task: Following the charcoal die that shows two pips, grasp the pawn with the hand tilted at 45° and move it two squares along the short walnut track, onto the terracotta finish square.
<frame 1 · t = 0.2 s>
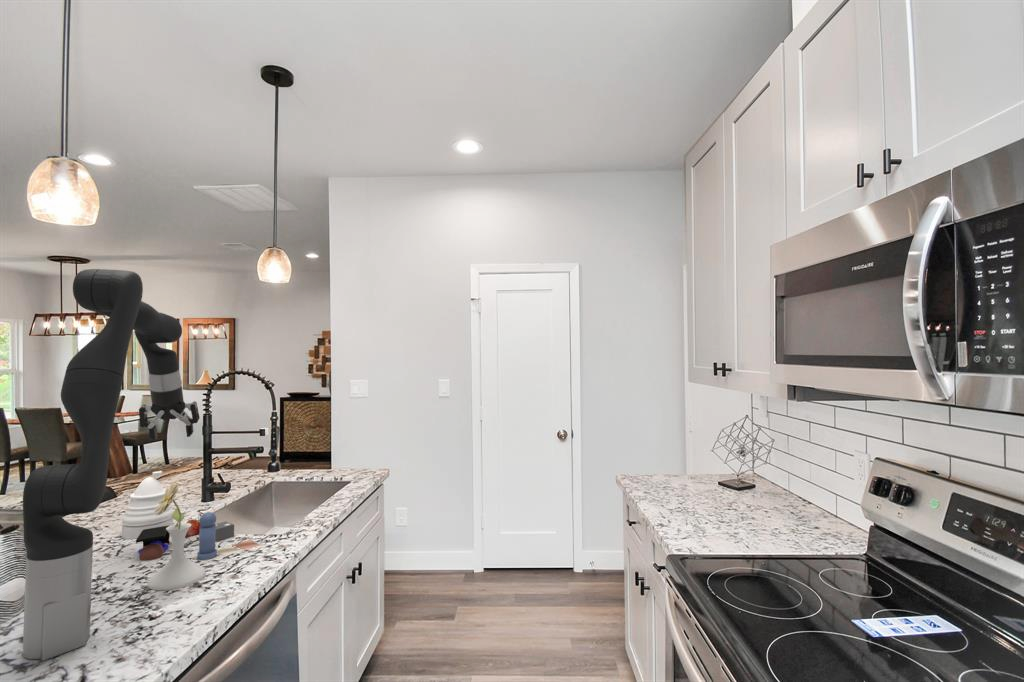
hand: (172, 437, 146), 30 cm above the countertop, tool tilted 20°, fingers open, 8 cm apart
pomegranate: (191, 539, 148), on the countertop
flower in vase: (176, 588, 116), on the countertop
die: (220, 542, 144), on the countertop
figurine character: (153, 557, 134), on the countertop
pawn: (207, 557, 130), point 1 cm above the countertop, touching board
honey pot: (148, 532, 153), on the countertop
board: (227, 556, 134), on the countertop
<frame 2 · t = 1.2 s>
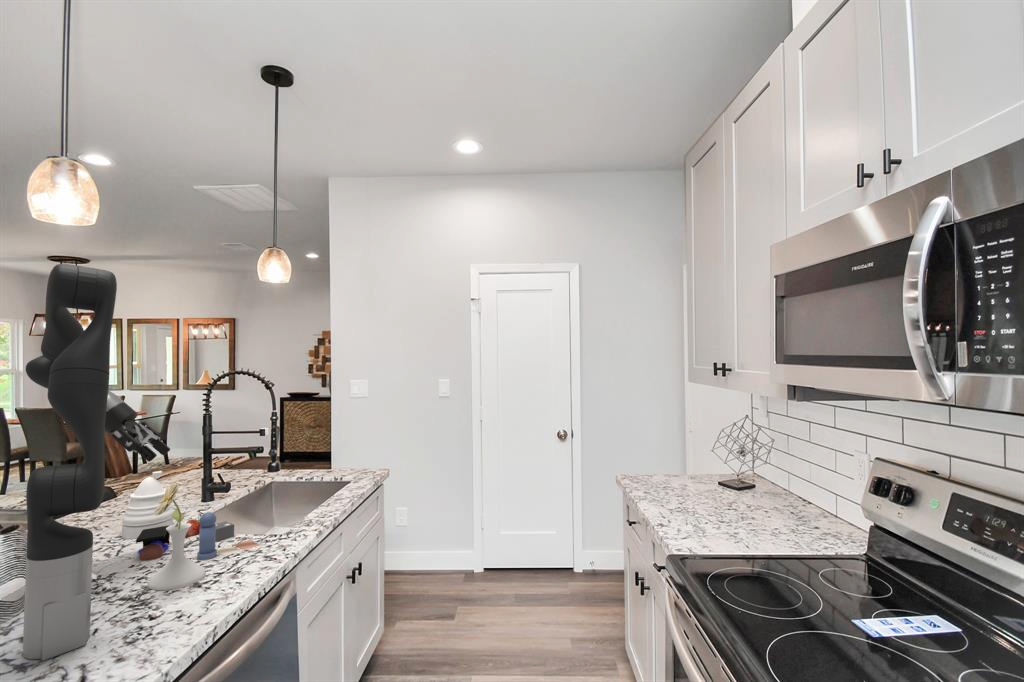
hand: (160, 455, 127), 29 cm above the countertop, tool tilted 45°, fingers open, 8 cm apart
nothing on the countertop moved.
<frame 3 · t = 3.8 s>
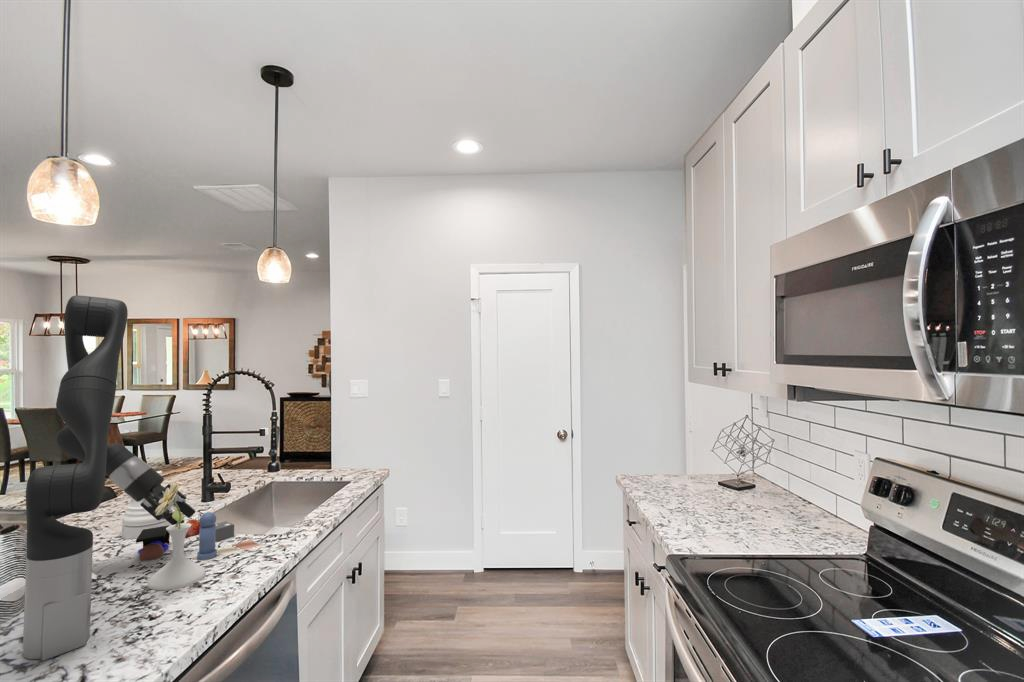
hand: (187, 519, 129), 11 cm above the countertop, tool tilted 45°, fingers open, 8 cm apart
nothing on the countertop moved.
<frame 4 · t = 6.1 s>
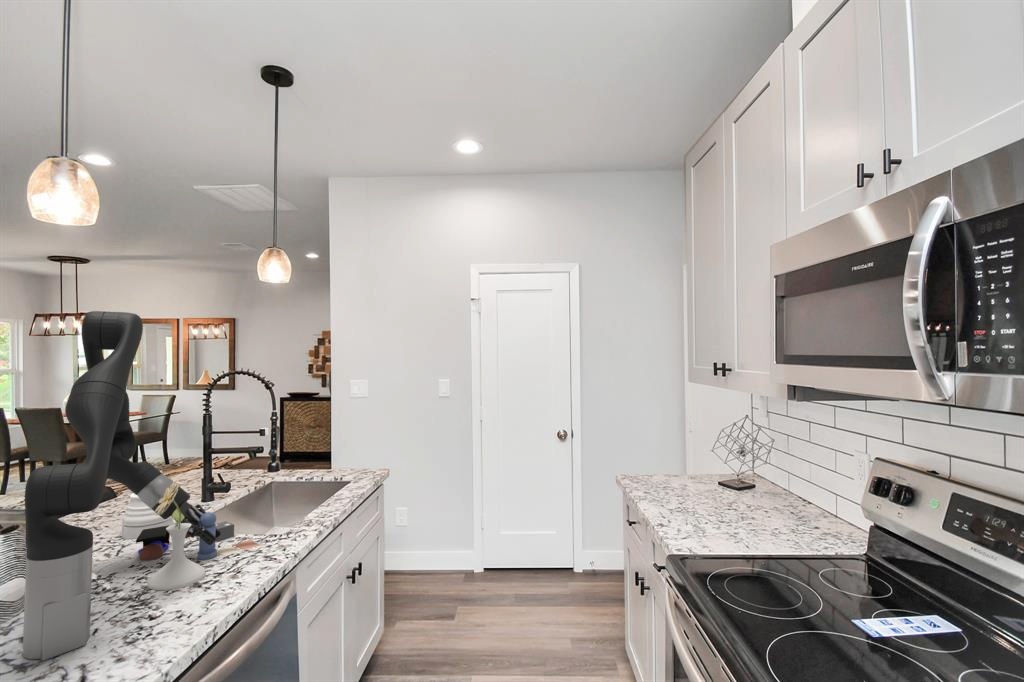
hand: (215, 539, 130), 6 cm above the countertop, tool tilted 45°, fingers closed on pawn, 3 cm apart
pawn: (207, 557, 130), point 2 cm above the countertop, touching board, gripper
everything else where it was.
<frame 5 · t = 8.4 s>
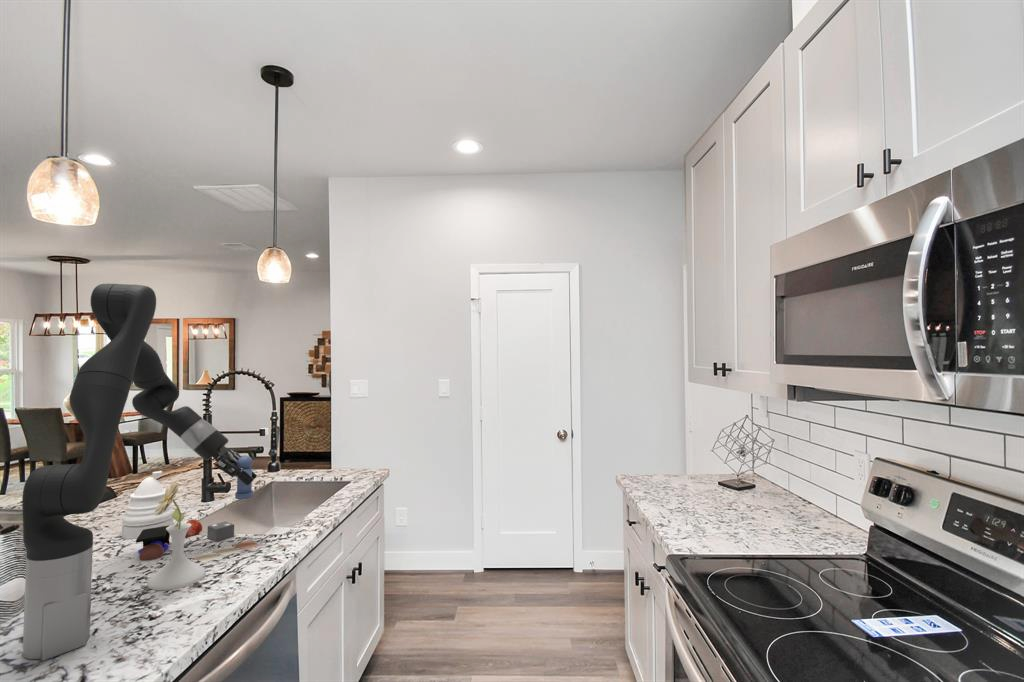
hand: (252, 480, 139), 19 cm above the countertop, tool tilted 45°, fingers closed on pawn, 3 cm apart
pawn: (244, 497, 139), point 15 cm above the countertop, touching gripper
everything else where it was.
when the fingers open (7 cm above the countertop, at t = 11.1 s): pawn stays where it is, resting on board.
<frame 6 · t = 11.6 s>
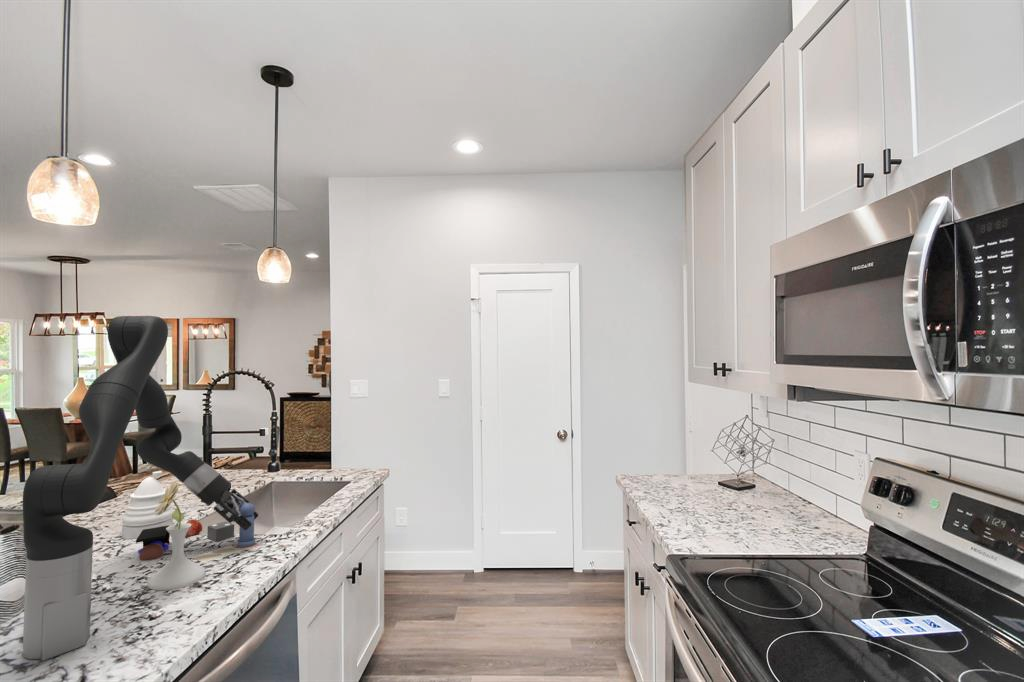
hand: (252, 522, 139), 8 cm above the countertop, tool tilted 45°, fingers open, 8 cm apart
pawn: (246, 544, 138), point 2 cm above the countertop, touching board
everything else where it was.
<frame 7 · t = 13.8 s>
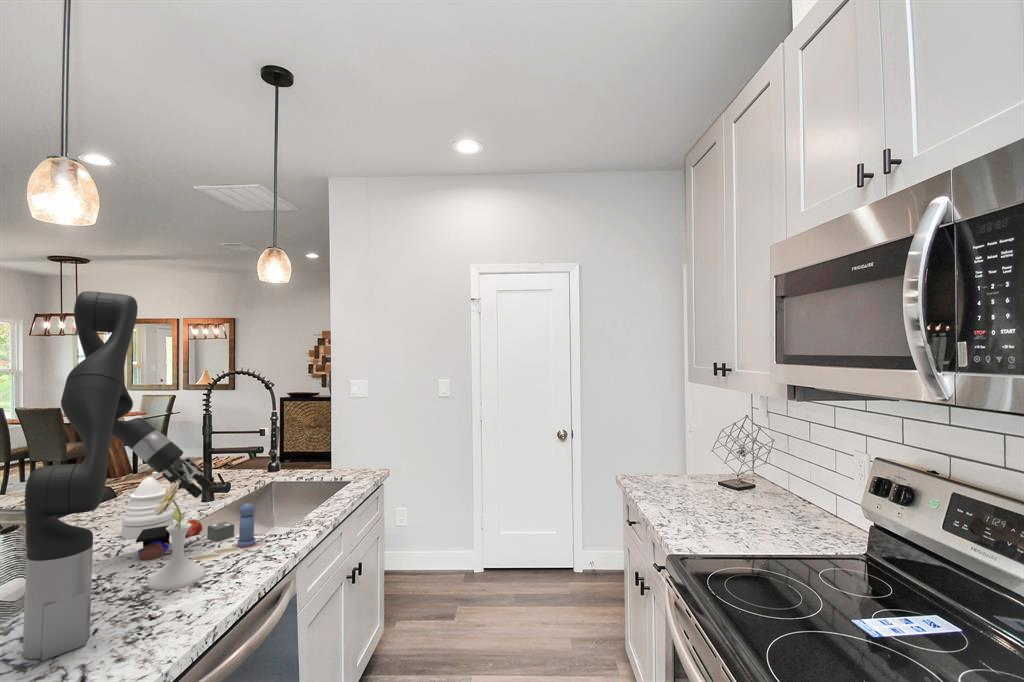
hand: (205, 491, 136), 17 cm above the countertop, tool tilted 45°, fingers open, 8 cm apart
nothing on the countertop moved.
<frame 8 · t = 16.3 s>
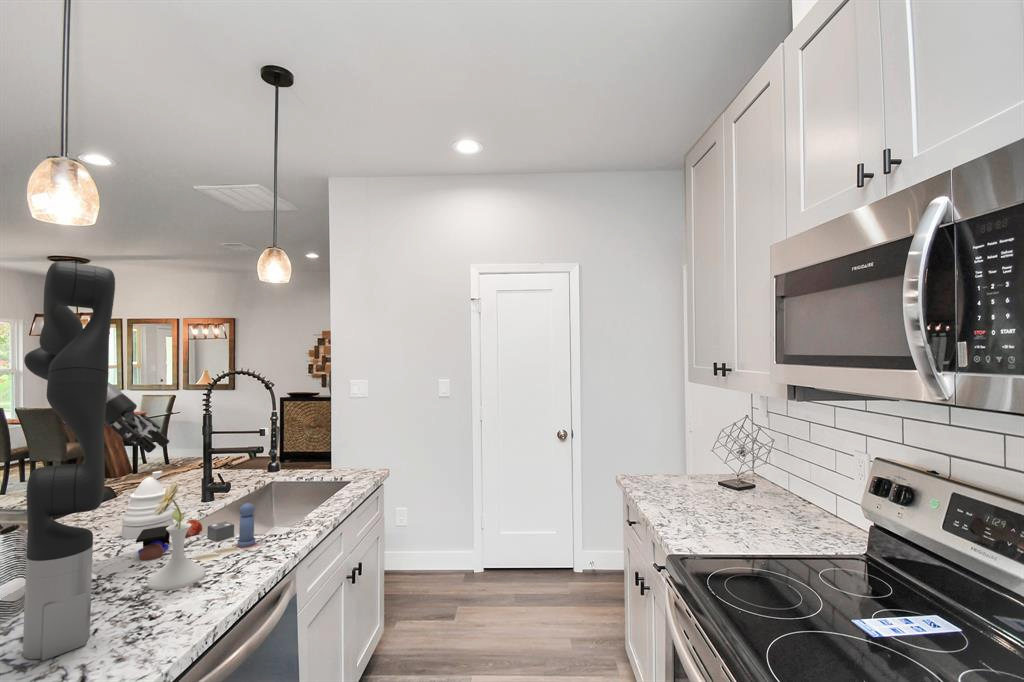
hand: (159, 447, 127), 31 cm above the countertop, tool tilted 45°, fingers open, 8 cm apart
nothing on the countertop moved.
at the end: pawn 0.2 cm from the target spot on the board, point 1.5 cm above the board's base; pawn tilted 0°; the gripper is holding nothing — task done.
